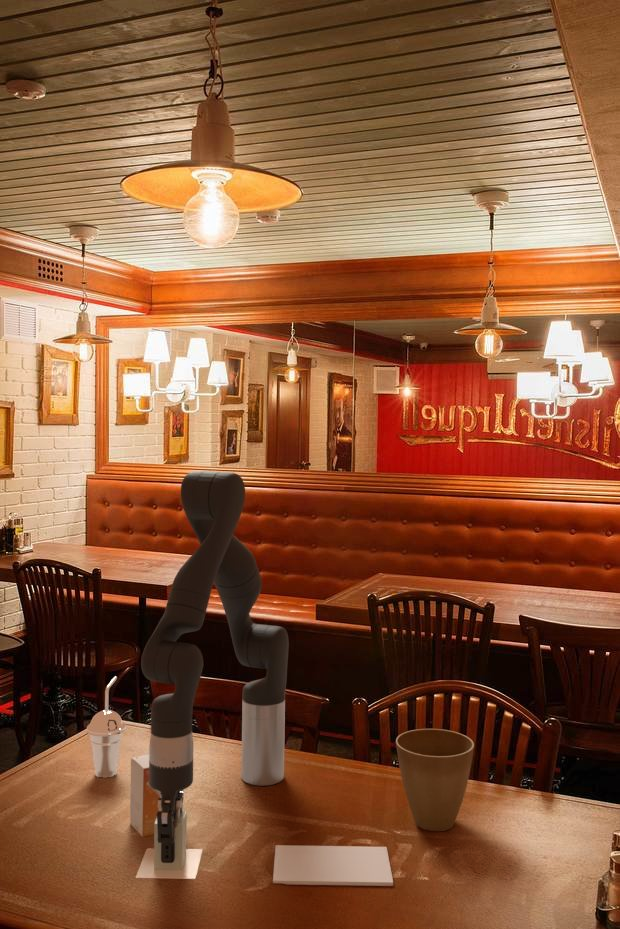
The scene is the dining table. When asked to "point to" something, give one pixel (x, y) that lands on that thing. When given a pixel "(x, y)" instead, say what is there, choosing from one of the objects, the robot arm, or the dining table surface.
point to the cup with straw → (106, 739)
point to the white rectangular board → (332, 865)
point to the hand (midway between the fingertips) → (170, 853)
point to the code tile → (186, 873)
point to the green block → (179, 846)
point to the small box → (142, 797)
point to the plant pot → (434, 774)
